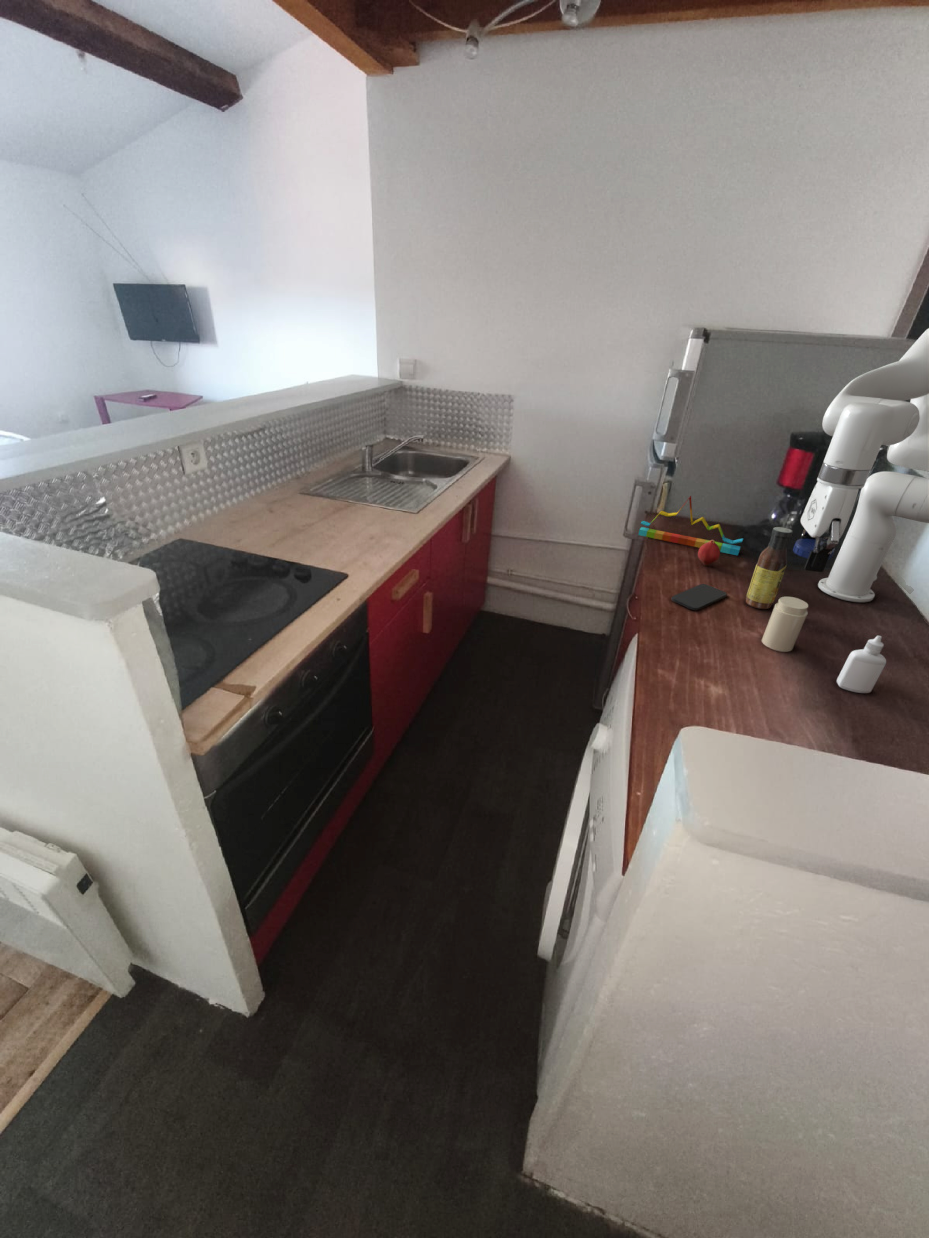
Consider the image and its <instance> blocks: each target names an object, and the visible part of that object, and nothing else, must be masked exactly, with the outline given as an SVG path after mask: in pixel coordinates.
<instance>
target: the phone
mask: <svg viewBox="0 0 929 1238" xmlns="http://www.w3.org/2000/svg"><path fill="white" fill-rule="evenodd" d="M727 596H728V593H727V592H726V591H723V590H721V589H720V588H719V589H718V588H716V587H714V586H711V585H709V584H706V583H701V584H698V585H695V586H694V587H693V586H692V587H691V588H688V589H687V590H684V591H681V592H679V593H677V594H675V595H673V596H671V601H672V602H674V603H676V604H679V605H681V606H683V607H685V608H687V609H689V610H691V611H699V610H701V609H703V608H706V607H708V606H710V605H712V604H714V603H717V602H718V601H721V600H723V599H724V598H726V597H727Z"/></svg>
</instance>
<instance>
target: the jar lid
mask: <svg viewBox="0 0 929 1238" xmlns="http://www.w3.org/2000/svg"><path fill="white" fill-rule="evenodd" d="M815 542H816V540H814V539H801V538H799V539H797V540H796V541H795V543H794V544H793V548H792V552H793V553H794V554H795V553H796V554H797V555H799V556H798V557H801V558H804V559H807V560H808V557H809V555H810V552H811V551H814V546H815ZM824 542H825V543H826V542H827V541H824V540H821V544H823V543H824ZM821 544H820V545H821ZM835 549H836V547H835V548H834V549H833V550H832V553H831V554H830V556H829V558H828V561H829V560H831V559H832V558H833V556H834V554H835ZM796 554H795V555H796ZM797 555H796V556H797Z"/></svg>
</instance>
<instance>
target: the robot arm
mask: <svg viewBox="0 0 929 1238" xmlns="http://www.w3.org/2000/svg"><path fill="white" fill-rule="evenodd" d="M821 422H822V430H823V431H824V433H825V434H826V435H827V436H830V437H832V438H831V440H830V443H829V446H828V448H827V451H826V454H825V457H824V459H823V462H822V465H821V467H820V469H819V472H818V476H817V478H816V481H817V482H816V484H815V485H814V487H813V490H812V492H811V494H810V497H809V498H808V501H807V503H806V505H805V508H804V510H803V513H802V515H801V517H800V525H801V526H802V527H803V528H804V529H803V530H802V532H801V537H800V539H814V540H816V542H815V546H814V551H811V552H810V555H809V557H808V559H807V560H806V563H805V564H804V570H805V571H808V572H816V573H817V572H818V573H823V572H824V570H825V568H826V566H827V563H828V561H829V560H828V558H829V556H830V554H831V553H832V550H833V549H834V548H835V549H836V546H837V545H838V544H839V542H840V539H841V538H842V536H843V534H844V532H845V530H846V528H847V526H848V523H849V521H850V517H851V515H852V512H853V510H854V507H855V504H856V501H857V498H858V502H857V506H856V509H855V513H854V516H853V518H852V520H851V524H850V526H849V528H848V530H847V532H846V535H845V537H844V540H843V542H842V543H841V547H840V550H839V551H838V554H837V556H836V558H835V560H834V563H833V565H832V568H831V570H830V572H829V574H828V577H825V578H821V579H820V580H819V581H818V583H817V587H818V588H819V589H820V591H822V592H823V593H824V594H827V595H828V596H830V597H833V598H836V599H839V600H842V601H847V602H851V603H868V602H871V601H873V600H874V598H875V596H876V593H875V592H874V591H873V590H872V589H871V587H872V585H873V583H874V582H876V581H877V579H878V574H879V571H880V570H881V567H882V565H883V562H884V561H885V558H886V557H887V555H888V552H889V550H890V548H891V547H892V545H893V542H894V541H895V538H896V535H897V527H896V526H897V525H896V523H895V520H894V517H897V518H902V519H906V520H911V521H915V522H919V523H925V524H929V478H928V477H923V476H918V475H915V474H908V473H902V472H897V471H888V470H887V471H886V470H885V471H878V472H875V473H872V474H871V475H870V473H871V471H872V468H873V466H874V464H875V462H876V459H877V457H878V455H879V452H880V449H881V447H882V446H888V450H887V454H886V459H887V461H888V462H889V463H890V464H892V465H895V466H897V467H901V468H907V469H910V470H911V469H912V470H917V471H922V472H927V473H928V472H929V327H928V328H927V329H926V330H925V331H924V332H923V333H922V334H921V335H920V336H919V337H918V339H916V341H915V342H914V343H913V344H912V345H911V346H910V347H909V348H908V350H907V351H906V352H905V353H904V354H903V355H902V356H901V358H900V359H899V360H898V361H895V362H891V363H888V364H886V365H883V366H879V367H877V368H875V369H871V370H870V371H867V372H865V373H863V374H860V375H859V376H856V377H854V378H853V379H852V380H850V382H848V383H847V384H846V385H845V387H843V388H842V389H841V391H839V393H838V394H837V395H836V396H835V397H834V398H833V400H832V401H831V403H830V404H829V405H828V407H827V409H826V410H825V413H824V414H823V417H822V421H821ZM859 490H860V491H859ZM859 492H860V493H859ZM858 493H859V497H858ZM825 535H828V536H825ZM821 541H823V542H824V543H823V544H821ZM825 542H826V543H825ZM820 544H821V545H820ZM794 555H795V556H798V557H800V556H799V555H797V554H796V553H794Z"/></svg>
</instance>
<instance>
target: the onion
mask: <svg viewBox="0 0 929 1238" xmlns="http://www.w3.org/2000/svg"><path fill="white" fill-rule="evenodd" d="M709 541H710V542H707V543H705V544H703V545H702V546H701V547H700V548H698V550H697V557H698V559H699V561H700V562H701V563H702V564H703V566H709V565H711V564H714V563H715V562H716V561H718V560H719V558H720V556H721V552H720V551H721V550H720V549H719V547H718V545H717V544H716V543H715V542H716V541H715V540H714V539H711V540H709Z"/></svg>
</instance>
